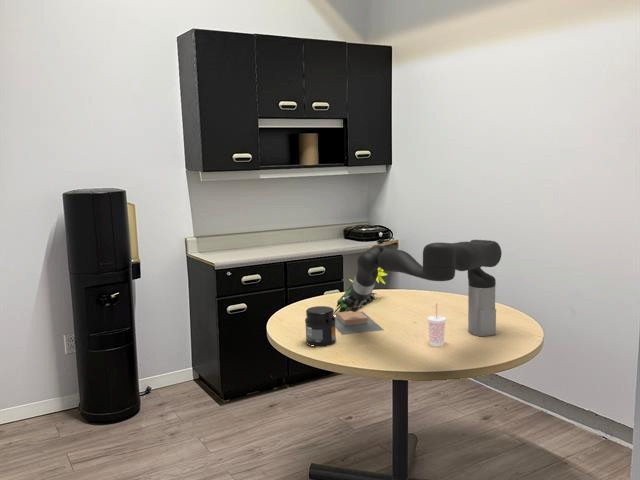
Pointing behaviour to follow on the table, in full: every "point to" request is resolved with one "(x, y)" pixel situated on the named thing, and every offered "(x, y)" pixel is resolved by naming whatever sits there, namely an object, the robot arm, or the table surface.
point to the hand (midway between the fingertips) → (354, 309)
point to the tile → (352, 318)
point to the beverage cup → (436, 329)
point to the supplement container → (320, 326)
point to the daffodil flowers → (340, 302)
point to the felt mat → (357, 327)
